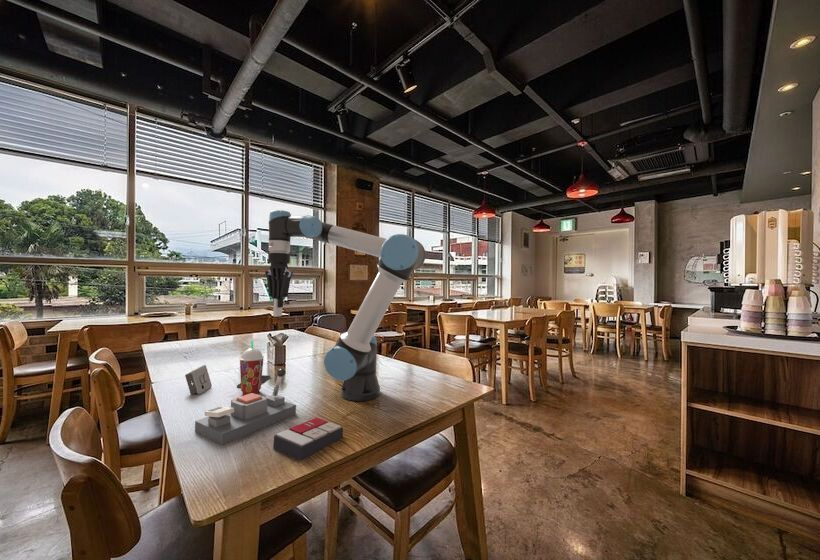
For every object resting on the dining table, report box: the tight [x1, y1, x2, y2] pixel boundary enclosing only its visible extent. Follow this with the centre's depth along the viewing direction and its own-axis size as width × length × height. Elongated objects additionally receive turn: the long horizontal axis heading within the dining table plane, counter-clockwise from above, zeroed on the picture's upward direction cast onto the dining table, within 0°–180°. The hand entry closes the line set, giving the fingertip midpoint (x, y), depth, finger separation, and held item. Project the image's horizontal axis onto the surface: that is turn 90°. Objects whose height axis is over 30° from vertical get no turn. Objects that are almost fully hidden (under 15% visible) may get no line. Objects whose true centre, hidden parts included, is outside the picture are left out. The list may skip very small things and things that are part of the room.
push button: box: [236, 393, 263, 404], centre depth 100 cm, size 5×5×4 cm
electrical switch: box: [184, 364, 213, 395], centre depth 126 cm, size 9×5×9 cm, turn 7°
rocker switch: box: [204, 406, 234, 417], centre depth 93 cm, size 4×7×1 cm, turn 59°
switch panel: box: [194, 393, 297, 446], centre depth 100 cm, size 24×14×7 cm, turn 149°
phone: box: [236, 374, 271, 389], centre depth 138 cm, size 8×1×15 cm
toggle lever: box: [272, 368, 287, 396], centre depth 107 cm, size 3×3×10 cm
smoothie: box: [239, 340, 264, 396], centre depth 125 cm, size 8×8×20 cm
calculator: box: [273, 417, 344, 462], centre depth 89 cm, size 11×4×15 cm
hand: (277, 316), depth 121 cm, fingers closed
